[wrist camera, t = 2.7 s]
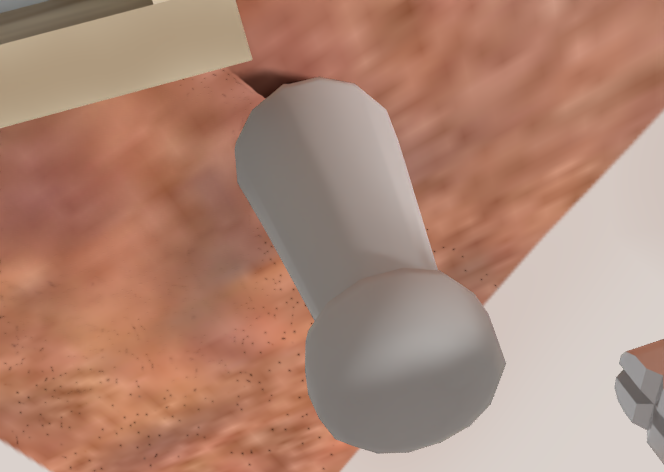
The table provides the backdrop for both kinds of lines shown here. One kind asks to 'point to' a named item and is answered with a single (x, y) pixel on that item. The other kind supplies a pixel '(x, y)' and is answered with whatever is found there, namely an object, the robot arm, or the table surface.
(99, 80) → the socket block
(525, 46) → the table surface
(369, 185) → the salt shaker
